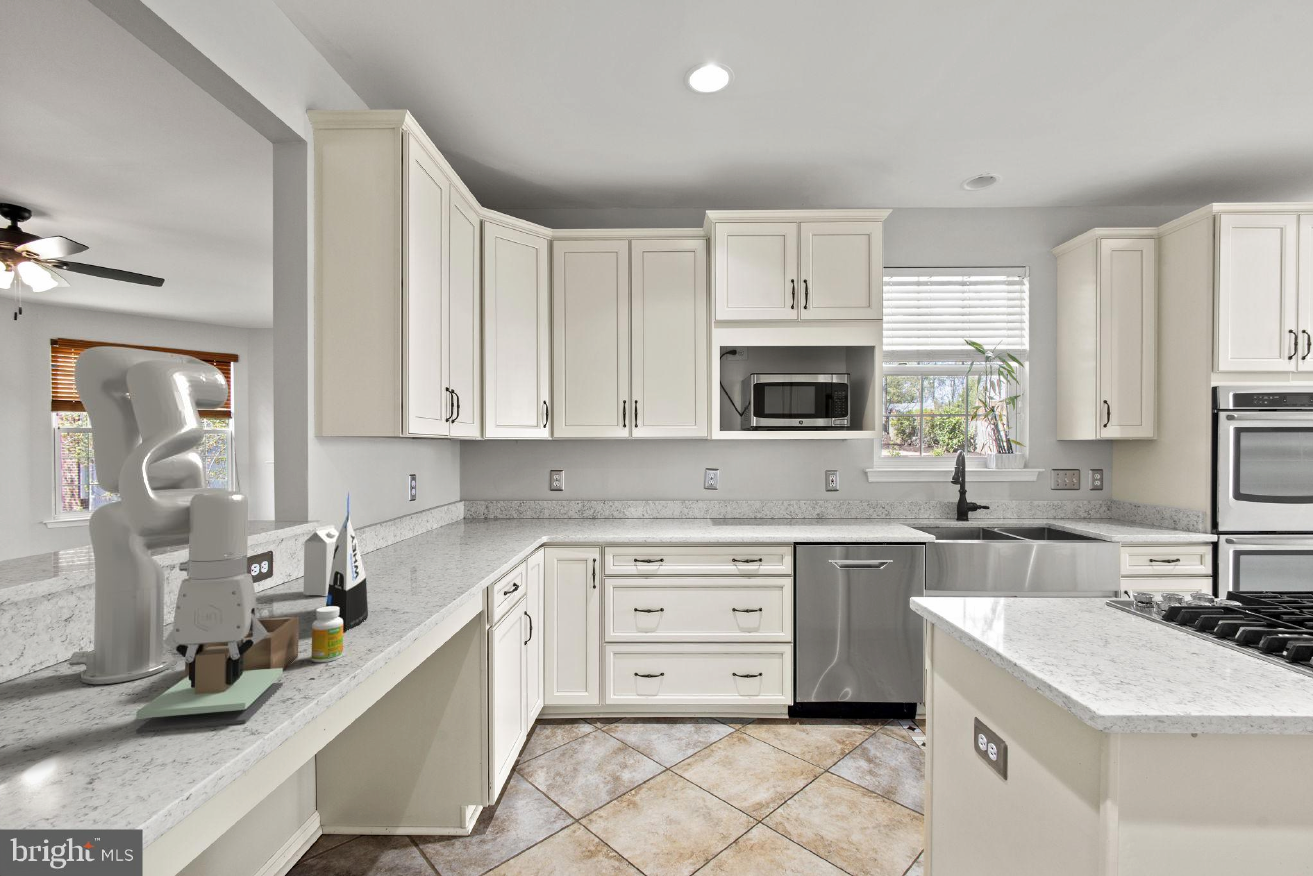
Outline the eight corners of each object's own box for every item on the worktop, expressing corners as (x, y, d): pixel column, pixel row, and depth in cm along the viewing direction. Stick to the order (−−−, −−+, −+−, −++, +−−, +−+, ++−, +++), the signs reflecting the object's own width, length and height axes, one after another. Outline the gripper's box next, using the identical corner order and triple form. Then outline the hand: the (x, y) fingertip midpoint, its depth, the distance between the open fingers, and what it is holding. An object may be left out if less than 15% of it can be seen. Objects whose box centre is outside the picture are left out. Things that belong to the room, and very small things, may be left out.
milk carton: (303, 595, 161) (304, 527, 161) (321, 589, 168) (322, 524, 168) (325, 597, 160) (326, 528, 160) (343, 590, 167) (344, 525, 167)
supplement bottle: (328, 664, 111) (329, 613, 111) (304, 661, 112) (305, 611, 112) (348, 654, 116) (349, 605, 117) (325, 652, 117) (326, 604, 118)
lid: (136, 718, 84) (137, 670, 84) (189, 680, 98) (190, 639, 98) (245, 709, 87) (246, 662, 87) (282, 673, 101) (283, 633, 101)
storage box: (184, 690, 99) (185, 643, 99) (222, 662, 112) (223, 620, 112) (270, 683, 102) (270, 638, 102) (298, 657, 114) (298, 616, 115)
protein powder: (367, 603, 154) (368, 490, 154) (369, 629, 132) (370, 498, 133) (326, 608, 149) (328, 492, 150) (321, 635, 128) (323, 499, 128)
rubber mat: (136, 733, 84) (136, 729, 84) (189, 693, 98) (189, 689, 98) (245, 723, 87) (245, 719, 87) (282, 685, 101) (282, 682, 101)
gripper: (142, 576, 87) (139, 697, 87) (267, 571, 91) (265, 688, 91) (171, 565, 95) (169, 678, 94) (286, 562, 98) (284, 670, 98)
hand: (216, 681), depth 93 cm, fingers open, 4 cm apart
